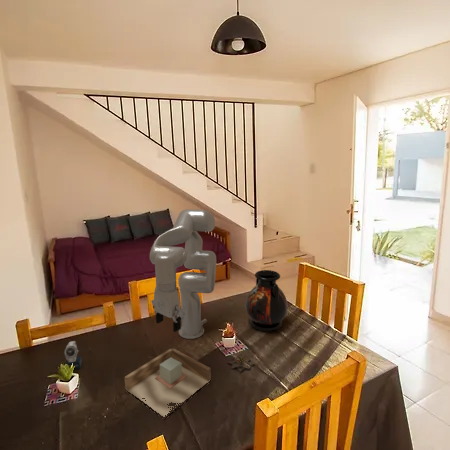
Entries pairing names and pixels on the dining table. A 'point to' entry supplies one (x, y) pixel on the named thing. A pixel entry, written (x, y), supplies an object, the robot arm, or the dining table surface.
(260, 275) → the amphora vase
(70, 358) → the watch
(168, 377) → the cube
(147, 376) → the tray
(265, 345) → the dining table surface
